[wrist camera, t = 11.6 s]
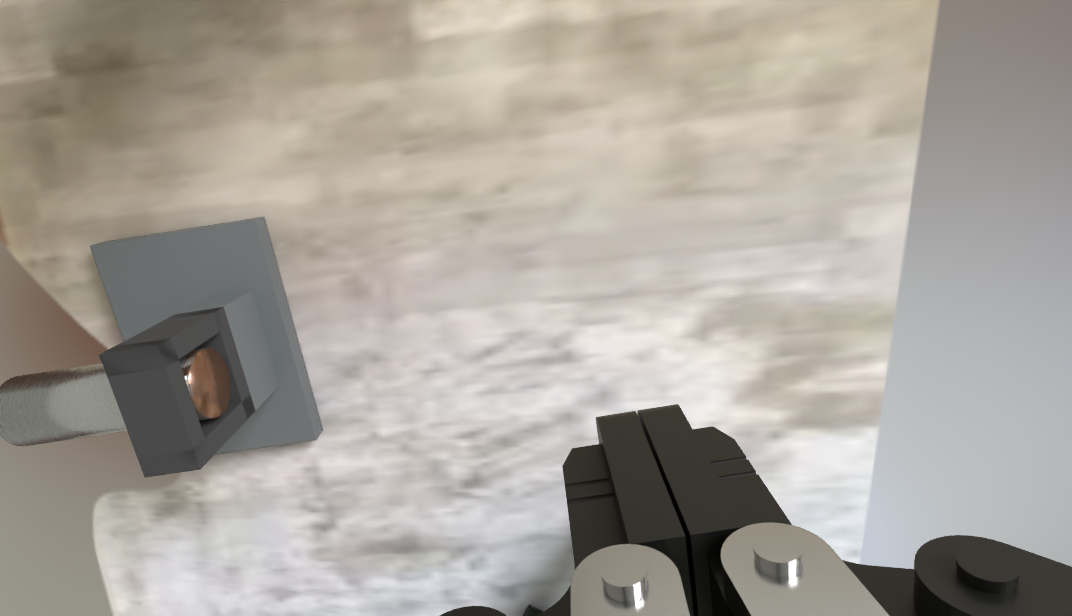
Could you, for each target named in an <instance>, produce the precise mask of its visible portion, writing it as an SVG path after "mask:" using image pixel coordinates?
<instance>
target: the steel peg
mask: <svg viewBox="0 0 1072 616" xmlns="http://www.w3.org/2000/svg"><path fill="white" fill-rule="evenodd" d="M178 360H179V363H180V366H181V369H182V372H183V375H184V378H185V381H186V384H187V387H188V390H189V393H190V396H191V399H192V402H193V405H194V408H195V411H196V414H197V416H198V419H199V420H205V419H211V418H217V417H219V416H221V415H222V414H223V413H224V412H225V410H226V409H227V407H228V404H229V401H230V396H231V380H230V374H229V370H228V367H227V365H226V362H225V360H224V359H223V357H222V356H221V355H220V353H219V352H218V351H216V350H215V349H213V348H201V349H195V350H192V351H190V352H189V353H187V354H186V355H184V356H183V357H181V358H180V359H178ZM124 431H127V428H126V426H125V423H124V420H123V418H122V415H121V412H120V410H119V407H118V404H117V402H116V399H115V396H114V394H113V391H112V388H111V386H110V383H109V380H108V378H107V375H106V372H105V370H104V367H103V364H95V365H89V366H82V367H75V368H69V369H62V370H55V371H49V372H42V373H35V374H29V375H22V376H16V377H13V378H10V379H9V380H7V381H6V382H4V383H3V384H2V385H1V386H0V436H1V437H2V438H3V439H4V440H5V441H7V442H9V443H11V444H13V445H16V446H29V445H36V444H42V443H49V442H55V441H62V440H69V439H76V438H83V437H89V436H96V435H103V434H110V433H117V432H124Z"/></svg>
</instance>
